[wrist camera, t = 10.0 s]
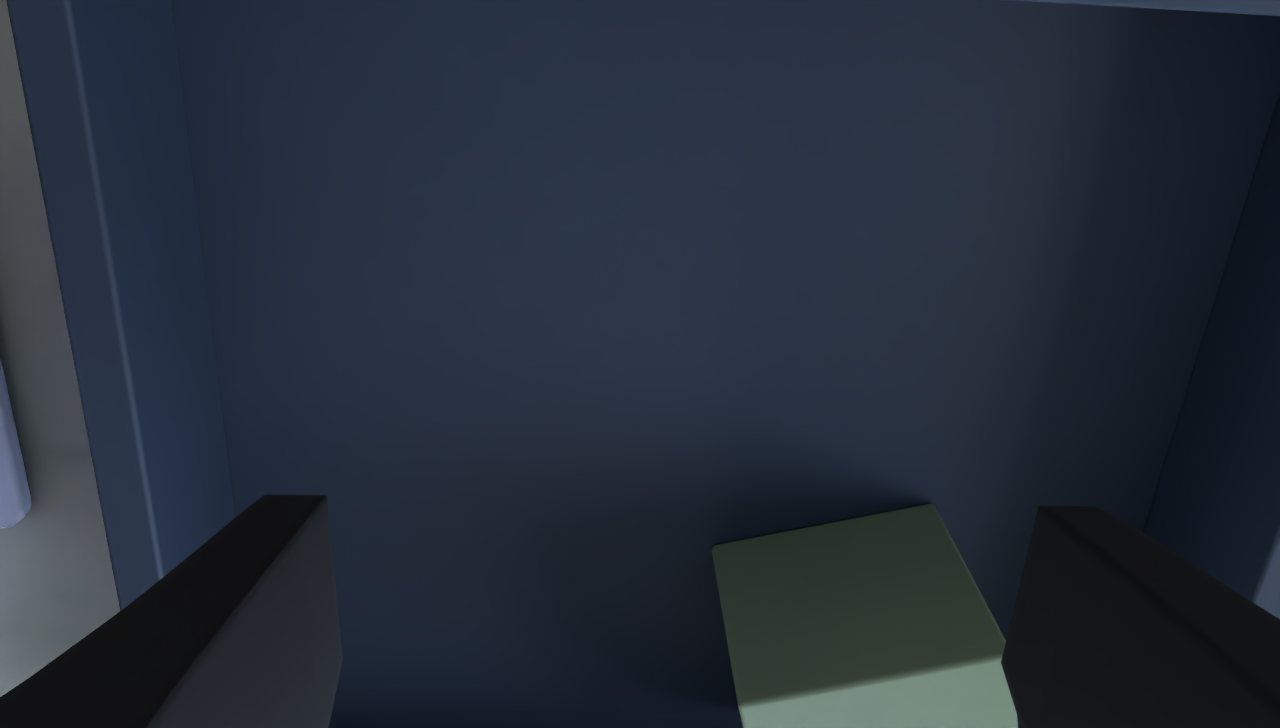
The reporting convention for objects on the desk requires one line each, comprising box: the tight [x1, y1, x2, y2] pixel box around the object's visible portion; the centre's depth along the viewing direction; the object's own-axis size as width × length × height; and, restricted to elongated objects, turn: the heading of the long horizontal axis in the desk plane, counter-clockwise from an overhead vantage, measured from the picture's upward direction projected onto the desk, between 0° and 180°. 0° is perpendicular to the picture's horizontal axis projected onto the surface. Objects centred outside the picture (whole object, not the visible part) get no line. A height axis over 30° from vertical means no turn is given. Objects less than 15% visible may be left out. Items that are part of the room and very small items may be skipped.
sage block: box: [712, 504, 1018, 728], centre depth 20 cm, size 4×4×4 cm
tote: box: [7, 0, 1280, 728], centre depth 19 cm, size 20×18×4 cm
